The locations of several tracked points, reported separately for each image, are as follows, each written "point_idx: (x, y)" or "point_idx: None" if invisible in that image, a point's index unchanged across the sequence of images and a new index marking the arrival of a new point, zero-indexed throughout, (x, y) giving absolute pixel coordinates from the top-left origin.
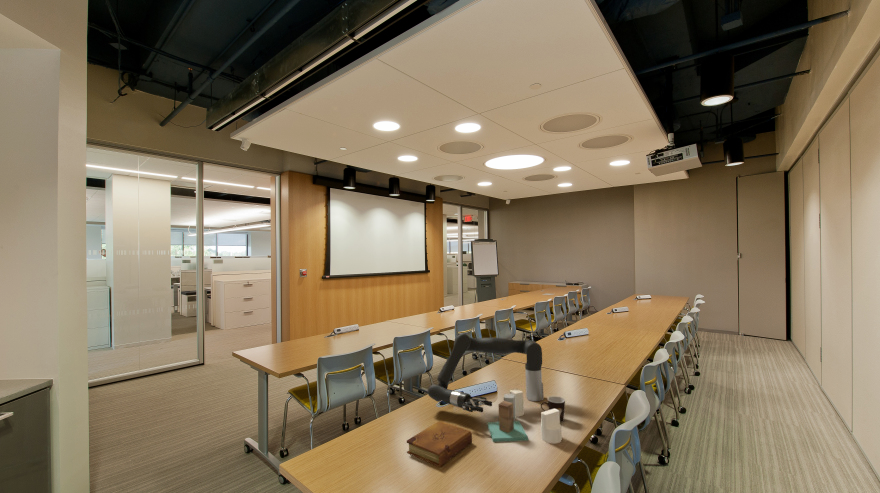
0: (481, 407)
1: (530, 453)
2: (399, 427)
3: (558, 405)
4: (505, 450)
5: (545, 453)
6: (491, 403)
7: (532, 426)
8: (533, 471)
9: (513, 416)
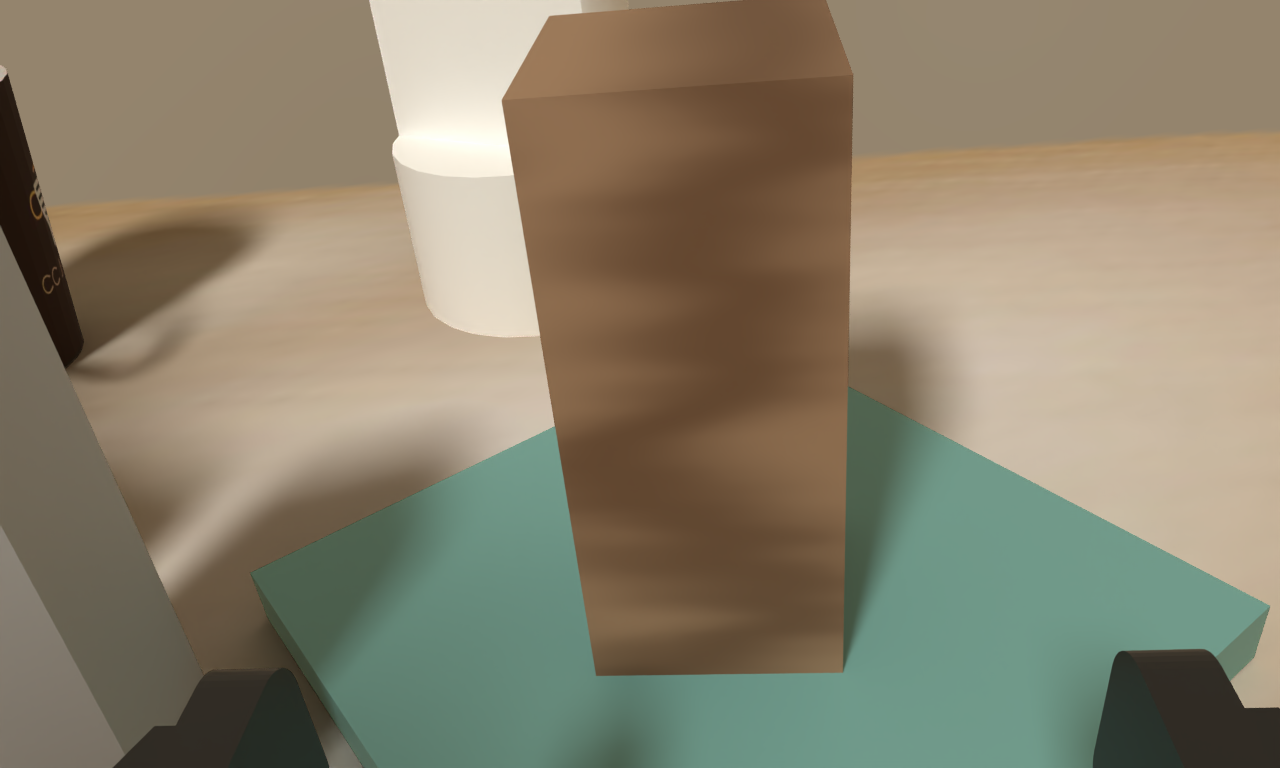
0: (1193, 685)
1: (1008, 283)
2: None
3: (17, 111)
4: (1244, 437)
5: (884, 229)
6: (286, 696)
7: (298, 466)
8: (1261, 195)
9: (174, 622)
